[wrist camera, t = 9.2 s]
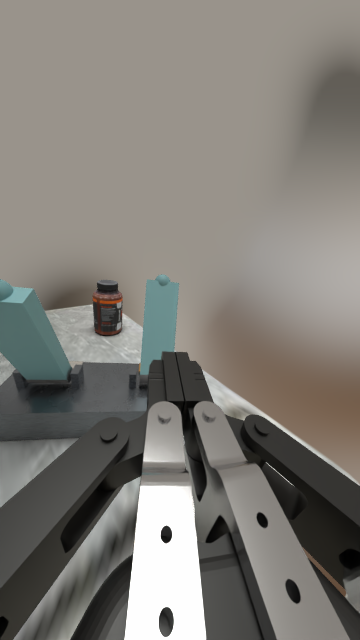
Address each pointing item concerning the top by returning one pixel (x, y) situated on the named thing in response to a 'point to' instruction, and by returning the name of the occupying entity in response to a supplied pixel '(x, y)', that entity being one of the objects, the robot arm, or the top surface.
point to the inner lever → (30, 337)
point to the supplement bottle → (107, 308)
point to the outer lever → (158, 322)
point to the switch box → (70, 401)
